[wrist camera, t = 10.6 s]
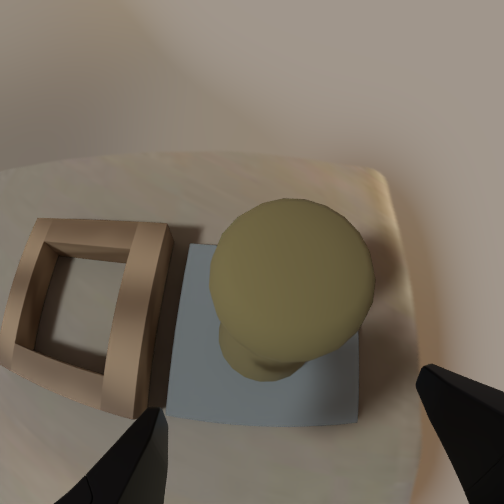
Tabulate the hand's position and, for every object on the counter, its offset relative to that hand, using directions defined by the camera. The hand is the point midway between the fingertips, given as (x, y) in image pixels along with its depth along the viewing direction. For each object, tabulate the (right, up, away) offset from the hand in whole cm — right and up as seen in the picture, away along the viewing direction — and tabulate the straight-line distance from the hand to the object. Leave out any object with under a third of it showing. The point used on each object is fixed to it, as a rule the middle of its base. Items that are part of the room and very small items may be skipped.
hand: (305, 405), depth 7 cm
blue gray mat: (-1, -1, +10) cm, 10 cm away
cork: (-1, -1, +9) cm, 9 cm away
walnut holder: (-14, 0, +10) cm, 18 cm away
